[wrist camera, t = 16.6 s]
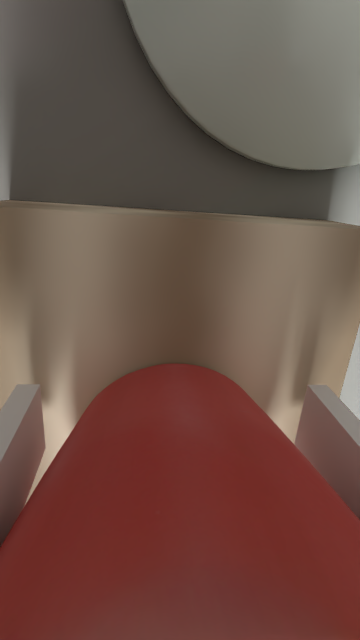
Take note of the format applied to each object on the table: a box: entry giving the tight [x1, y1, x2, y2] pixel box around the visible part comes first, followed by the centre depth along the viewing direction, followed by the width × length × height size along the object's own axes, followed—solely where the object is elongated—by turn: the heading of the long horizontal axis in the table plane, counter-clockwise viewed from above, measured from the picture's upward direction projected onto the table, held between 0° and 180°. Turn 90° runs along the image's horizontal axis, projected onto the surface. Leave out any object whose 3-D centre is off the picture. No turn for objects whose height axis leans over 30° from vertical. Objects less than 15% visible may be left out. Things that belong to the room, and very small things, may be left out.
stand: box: [0, 200, 360, 505], centre depth 16 cm, size 14×14×4 cm
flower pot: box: [0, 363, 360, 640], centre depth 10 cm, size 11×11×10 cm
